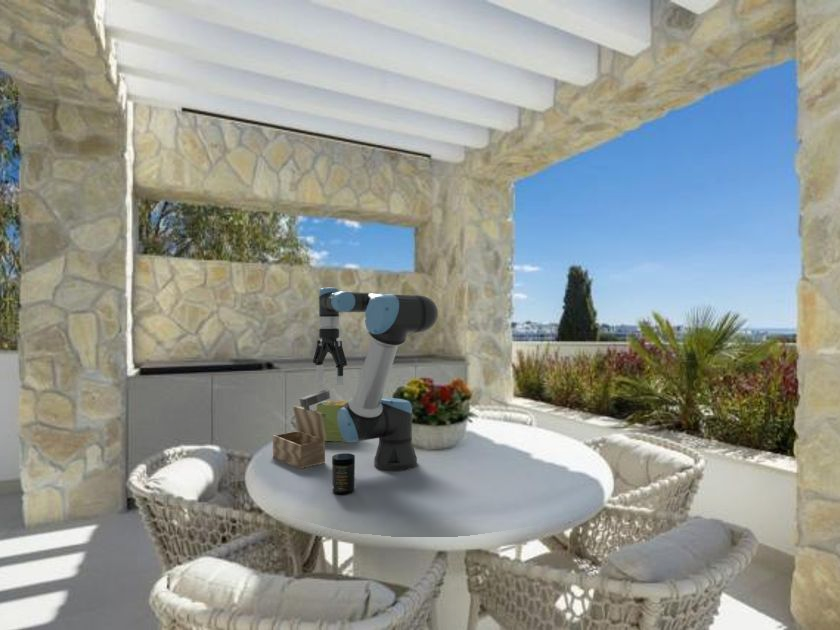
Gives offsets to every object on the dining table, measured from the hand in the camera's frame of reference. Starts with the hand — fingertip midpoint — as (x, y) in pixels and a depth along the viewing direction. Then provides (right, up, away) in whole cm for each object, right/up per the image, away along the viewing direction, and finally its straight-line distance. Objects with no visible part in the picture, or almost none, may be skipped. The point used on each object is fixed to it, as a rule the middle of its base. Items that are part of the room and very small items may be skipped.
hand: (329, 383), depth 182 cm
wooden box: (-10, -27, -9) cm, 30 cm away
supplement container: (+12, -27, -41) cm, 50 cm away
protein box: (-1, -27, +21) cm, 34 cm away
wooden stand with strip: (-8, -12, -7) cm, 16 cm away
